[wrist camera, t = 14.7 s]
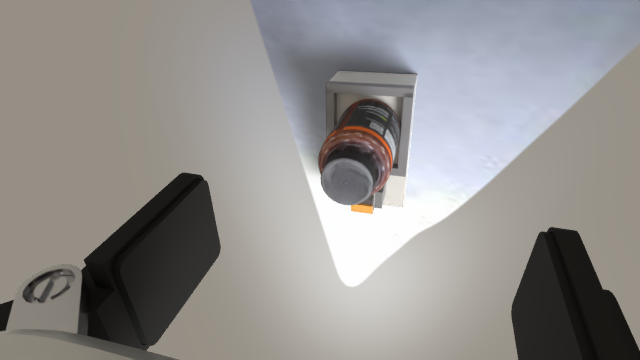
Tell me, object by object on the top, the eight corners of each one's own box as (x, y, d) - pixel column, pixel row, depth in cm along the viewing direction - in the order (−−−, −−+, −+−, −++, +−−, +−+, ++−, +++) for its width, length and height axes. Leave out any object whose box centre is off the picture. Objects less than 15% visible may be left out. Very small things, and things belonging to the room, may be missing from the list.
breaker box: (338, 70, 40) (318, 90, 34) (417, 74, 38) (411, 96, 32) (338, 180, 46) (322, 213, 40) (406, 188, 44) (399, 224, 38)
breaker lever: (351, 171, 38) (348, 181, 37) (373, 174, 37) (371, 184, 37) (353, 202, 41) (351, 211, 41) (374, 204, 41) (372, 214, 40)
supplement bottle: (341, 151, 40) (307, 211, 31) (340, 95, 37) (303, 142, 28) (400, 157, 38) (383, 221, 29) (404, 98, 36) (387, 149, 26)
